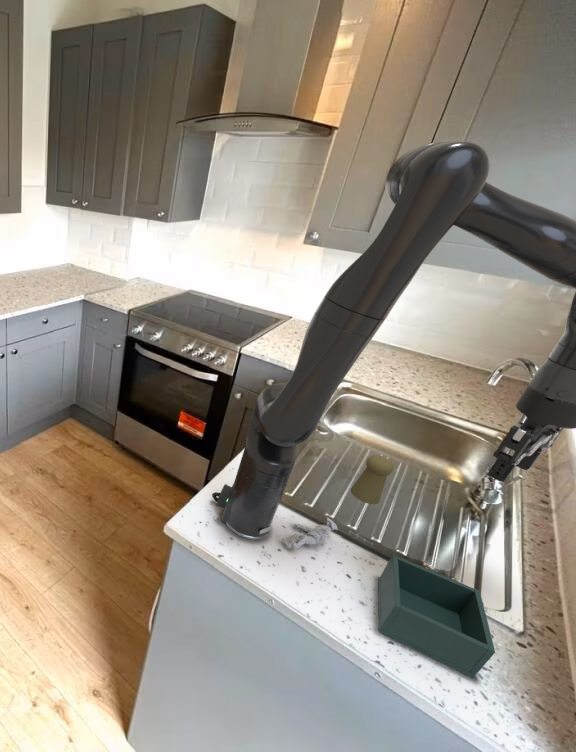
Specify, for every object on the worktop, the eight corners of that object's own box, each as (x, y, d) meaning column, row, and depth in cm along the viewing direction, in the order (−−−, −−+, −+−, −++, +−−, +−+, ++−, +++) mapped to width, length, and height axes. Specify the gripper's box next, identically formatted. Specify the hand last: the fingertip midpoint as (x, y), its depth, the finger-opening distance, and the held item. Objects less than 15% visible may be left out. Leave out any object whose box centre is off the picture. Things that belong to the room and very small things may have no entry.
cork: (357, 502, 102) (375, 465, 97) (346, 485, 107) (362, 449, 102) (384, 506, 101) (403, 469, 96) (372, 488, 107) (389, 453, 102)
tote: (378, 631, 73) (395, 605, 70) (378, 579, 83) (392, 554, 80) (472, 678, 67) (495, 652, 64) (460, 616, 77) (480, 590, 74)
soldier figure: (271, 537, 92) (309, 507, 95) (285, 558, 91) (322, 527, 95) (297, 541, 84) (336, 508, 88) (312, 564, 84) (351, 529, 87)
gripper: (551, 374, 73) (501, 451, 80) (510, 387, 67) (460, 468, 74) (615, 395, 67) (555, 476, 74) (576, 411, 61) (515, 497, 68)
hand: (507, 472), depth 74 cm, fingers open, 8 cm apart
